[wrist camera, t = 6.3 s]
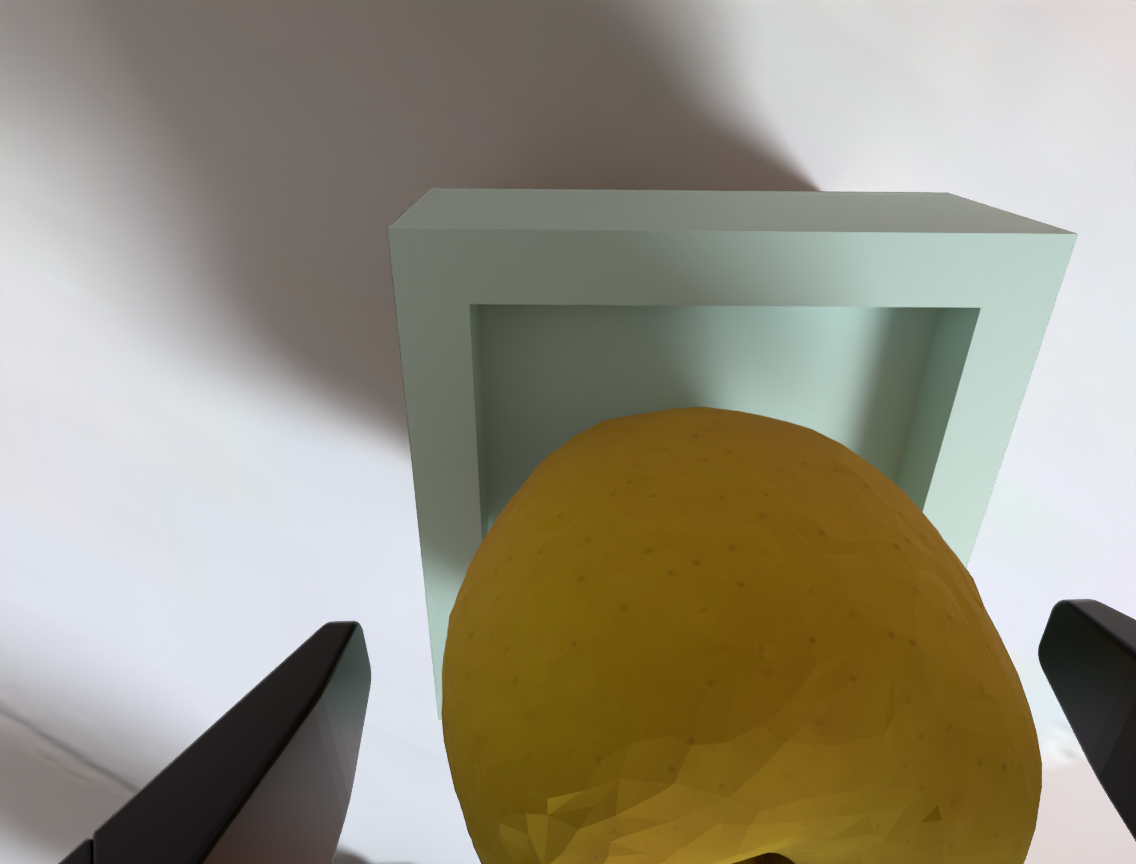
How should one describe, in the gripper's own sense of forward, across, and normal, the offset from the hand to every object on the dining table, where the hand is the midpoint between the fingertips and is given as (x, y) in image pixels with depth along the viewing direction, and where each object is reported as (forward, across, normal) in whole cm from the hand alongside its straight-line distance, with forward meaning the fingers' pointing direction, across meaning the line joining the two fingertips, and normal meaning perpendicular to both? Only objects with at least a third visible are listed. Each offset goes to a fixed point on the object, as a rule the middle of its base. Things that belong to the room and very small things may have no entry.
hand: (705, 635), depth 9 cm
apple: (+4, 0, 0) cm, 4 cm away
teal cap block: (+6, 0, 0) cm, 6 cm away
